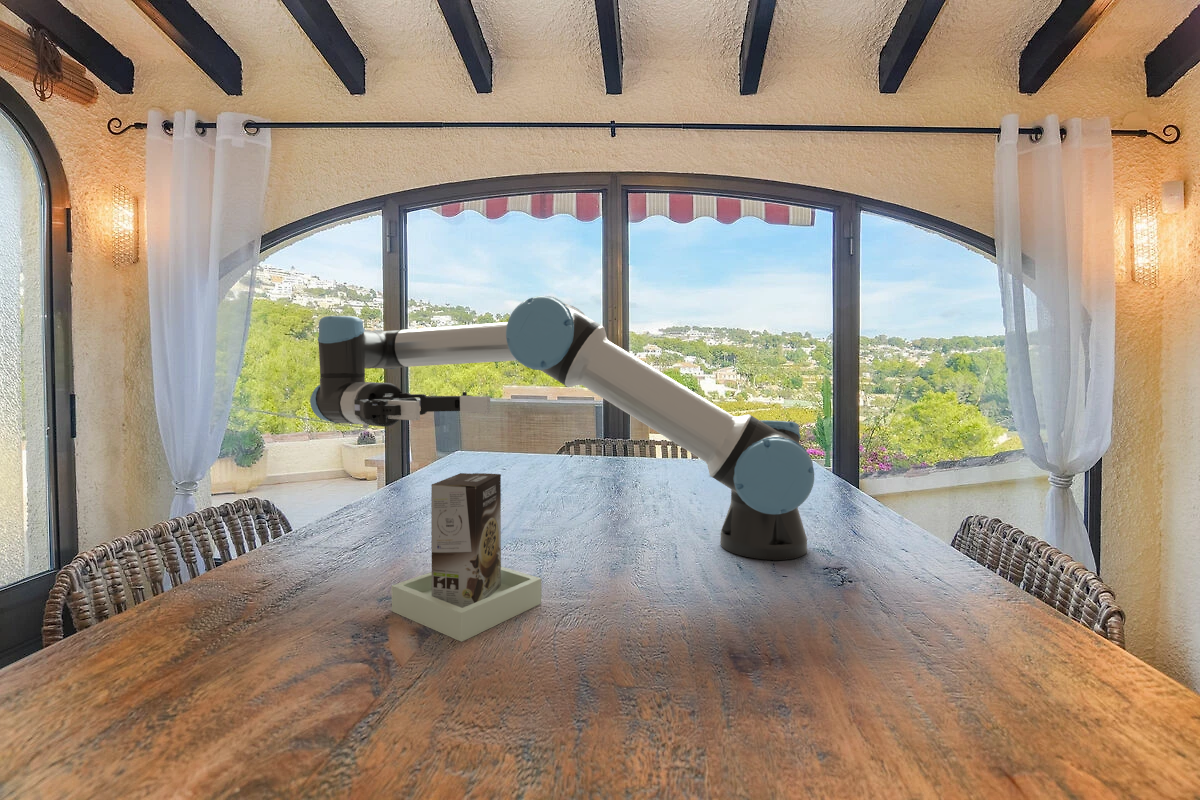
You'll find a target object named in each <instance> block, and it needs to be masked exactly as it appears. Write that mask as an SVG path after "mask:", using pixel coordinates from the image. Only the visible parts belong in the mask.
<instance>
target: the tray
mask: <svg viewBox="0 0 1200 800" xmlns="http://www.w3.org/2000/svg"><path fill="white" fill-rule="evenodd" d="M542 584H543V583H542V578H540V577H538V576H535V575H531V574H528V573H524V572H521V571H518V570H514V569H512V568H509V567H508V568H507V567H504V566H502V565H501V586H500V587H499V588H498V589H497V590H496V591H495V592H494V593H493V594H491V595H490V596H489V597H487V598H485V599H483V600H480V601H478V602H476V603H473V604H471V605H468V606H466V607H464V608H461V607H458V606H456V605H453V604H451V603H448V602H445V601H443V600H440V599H438V598H435V597H432V571H430V572H428V573H425V574H421V575H419V576H416V577H412V578H410V579H406V580H404V581H401V582H398V583H394V584H393V585H391V612H392V613H394V614H397V615H399V616H402V617H404V618H406V619H408V620H410V621H413V622H415V623H417V624H420V625H422V626H425V627H426V628H429V629H431V630H434V631H436V632H439V633H441V634H443V635H445V636H448V637H449V638H451V639H454V640H456V641H459V642H461V643H462V642H464V641H467V640H468V639H470V638H473V637H475V636H476V635H478V634H480V633H481V634H482V632H485V631H487V630H490V629H491V628H493V627H495V626H498V625H500V624H502V623H503V622H506V621H508V620H510V619H512V618H514V617H517V616H518V615H521V614H522V613H525V612H526V611H528V610H530V609H533V608H536V607H537V606H540V605H542V600H543V599H542V598H543V597H542V595H543V594H542V589H543V588H542V587H543V586H542Z"/></svg>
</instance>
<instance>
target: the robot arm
mask: <svg viewBox="0 0 1200 800" xmlns="http://www.w3.org/2000/svg"><path fill="white" fill-rule="evenodd" d="M318 321H319V322H318V337H317V342H318V343H317V344H318V355H319V357H318V359H319V385H317V386H316V387H315V388H314V389H313V392H312V394H311V396H310V401H309V403H310V407H311V409H312V412H313V414H314V415H315V416H316V417H317V418H318V419H320V420H322V421H326V422H330V423H334V424H345V425H346V424H347V425H362V428H363V429H368V428H369V426H372V427H380V428H381V427H382V428H383V427H384V428H385V427H387V428H388V427H390V426H394V425H395V424H396V423H398V422H399V421H400V420H401V421H415V422H416V421H420V420H421V415H422V416H423V415H426V414H427V413H428V412H432V413H433V412H460V413H466V414H468V413H469V414H486V415H487V414H491V413H492V412H491V411H492V410H491V396H480V395H479V396H478V395H470V394H468V393H467V391H463V392H462V395H426V394H425V393H422V394H421V393H420V394H419V393H417V394H415V393H413V394H412V393H410V392H403V391H402V390H401V389H400V388H399V387H398V386H397V385H395V384H394V383H391V382H372V381H371V382H370V381H366V369H384V370H392V369H393V370H394V369H397V368H408V367H410V368H411V367H424V366H425V367H426V366H441V365H442V366H443V365H445V366H446V365H461V364H464V365H465V364H478V363H496V362H497V363H498V362H514V361H515V362H516V361H517V362H518V363H520V364H521V365H523V366H524V367H526V368H528V369H531V370H534V371H535V370H536V371H537V370H538V371H541V372H543V373H544V374H545V375H547V376H549V377H550V378H553V379H554V380H555V381H557V382H559V383H561V384H562V385H564V386H566V387H567V388H571V387H575V386H582V387H584V388H585V389H587V390H590V392H592V393H594V394H596V395H597V396H599V397H600V398H602V399H604V400H605V401H607V402H608V403H610V404H612V405H613V406H615V407H616V408H618V409H619V410H621V411H623V412H624V413H626V414H628V415H629V416H630V417H632V418H635V419H636V420H637V421H639V422H640V423H642V424H644V425H646V426H647V427H649V428H650V429H652V430H654V432H657V433H658V434H660V435H662V436H663V437H665V438H666V439H668V440H669V441H671V442H672V443H675V444H676V445H677V446H679V447H681V448H682V449H684V450H686V451H687V452H689V453H690V454H692V455H693V456H695V457H697V458H699V459H700V460H702V461H703V462H705V463H706V466H707V469H708V474H709V476H710V477H711V478H712V479H715V480H716V481H717V482H719V483H720V484H721V485H723V486H726V487H727V488H729V489H730V491H731V492H730V494H731V495H730V505H729V508H728V511H727V513H726V516H725V518H724V522H723V523H722V528H721V529H720V539H719V541H720V546H721V547H722V549H724V550H726V551H728V552H729V553H732V554H735V555H739V556H742V557H746V558H749V559H758V560H769V561H770V560H771V561H781V560H786V561H787V560H793V559H797V558H801V557H803V556H805V555H806V554H807V552H808V537H807V534H806V531H805V528H804V524H803V521H802V518H801V514H800V511H799V507H800V506H801V505H803V504H804V503H805V501H806V500H807V499H808V498H809V496H810V494H811V492H812V489H813V488H814V485H815V484H814V483H815V470H814V469H815V468H814V463H813V460H812V458H811V457H810V454H809V453H808V451H807V450H806V448H805V447H804V446H803V445H801V444H800V440H801V434H800V433H801V432H800V426H799V424H798V423H797V422H794V421H786V420H768V419H767V420H762V419H761V420H759V419H757V418H756V417H754V416H753V415H751V414H750V413H747V414H742V415H738V416H734V415H732V414H731V413H729V412H727V411H726V410H724V408H723V409H722V408H721V407H719V406H718V405H716V404H714V403H712V402H711V401H710V400H708V399H706V398H705V397H703V396H701V395H699V394H698V393H696V392H694V391H693V390H691V389H690V388H688V387H686V386H684V385H683V384H682V383H680V382H677V380H675V379H673V378H671V377H670V376H668V375H666V374H664V372H662V371H660V370H658V369H656V368H654V367H653V366H652V365H650V364H648V363H646V362H645V361H643V360H641V359H640V358H639V357H636V356H635V355H633V354H631V353H630V352H628V351H627V350H625V349H623V348H621V347H620V346H618V345H617V344H614V343H613V342H612V341H610V340H609V339H608V337H607V332H606V328H605V327H604V326H603V325H602V324H599V322H596V321H595V320H593V319H592V318H590V317H588V316H587V315H586V314H585V313H584V312H583V311H581V310H580V309H579V308H577V307H575V306H573V305H570V304H568V303H566V302H563V301H561V299H558V298H556V297H554V296H549V295H539V296H533V297H530V298H529V297H528V298H527V299H525V300H524V301H522V302H520V303H519V304H518V305H517V306H516V307H515V308H514V309H513V310H512V313H511V314H510V316H509V317H508V320H507V321H504V322H502V321H501V322H490V323H489V322H488V323H476V324H463V325H450V326H449V325H448V326H437V327H423V328H412V329H411V328H410V329H409V328H408V329H395V330H370V329H365V328H364V322H363V320H362V318H360V317H359V316H350V315H349V316H348V315H329V316H328V315H327V316H326V315H325V316H323V317H322V318H320V319H319V320H318ZM417 398H419V400H418V399H417Z"/></svg>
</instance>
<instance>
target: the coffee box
mask: <svg viewBox="0 0 1200 800" xmlns="http://www.w3.org/2000/svg"><path fill="white" fill-rule="evenodd" d="M501 476H502V474H499V473H485V472H484V473H483V472H482V473H480V472H479V473H478V472H477V473H476V472H475V473H463V472H460V473H458V474H455V475H453V476H450V477H447V478H445V479H442V480H439V481H437V482H435V483H432V484H431V485H430V486H431V503H430V504H431V509H430V510H431V513H430V514H431V542H430V543H431V572H432V597H435V598H438V599H440V600H443V601H445V602H448V603H451V604H453V605H456V606H458V607H461V608H464V607H466V606H468V605H471V604H473V603H476V602H478V601H480V600H483V599H485V598H487V597H489V596H490V595H491V594H493V593H494V592H495V591H496V590H497V589H498V588H499V587H500V586H501V566H502V547H501V546H502V523H501V521H502V516H501V515H502V509H501V508H502V507H501V506H502V504H501V503H502V502H501V500H502V492H501V490H502V489H501V487H502V486H501V483H502V481H501V479H502V477H501Z"/></svg>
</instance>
